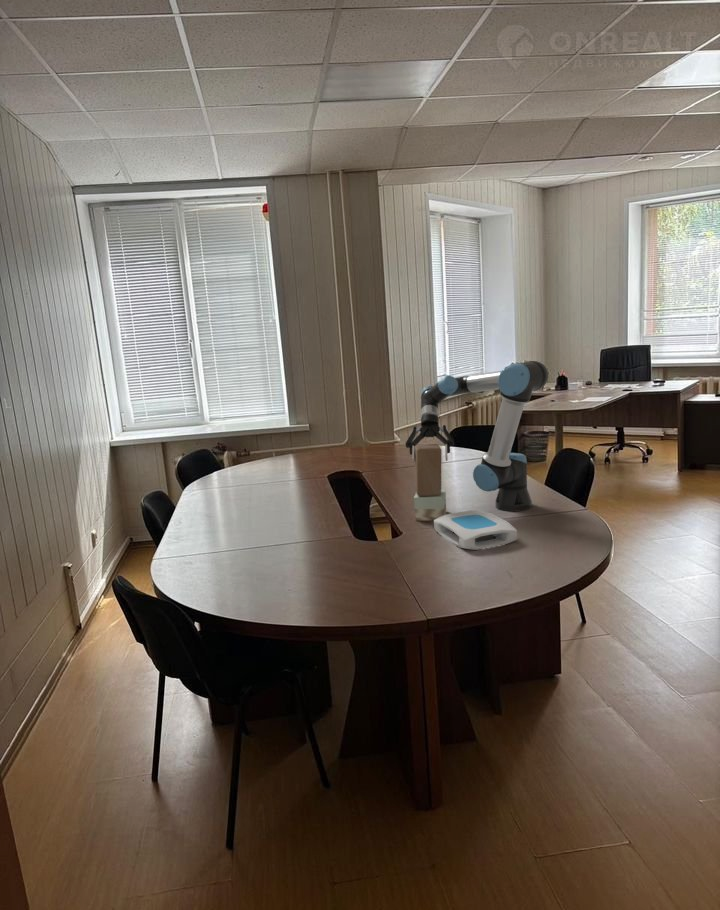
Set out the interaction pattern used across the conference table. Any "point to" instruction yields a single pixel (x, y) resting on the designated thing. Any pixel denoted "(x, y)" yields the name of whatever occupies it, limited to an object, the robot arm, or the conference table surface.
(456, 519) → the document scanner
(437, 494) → the block
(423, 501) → the tower upper slab
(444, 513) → the tower lower slab
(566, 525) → the conference table surface
